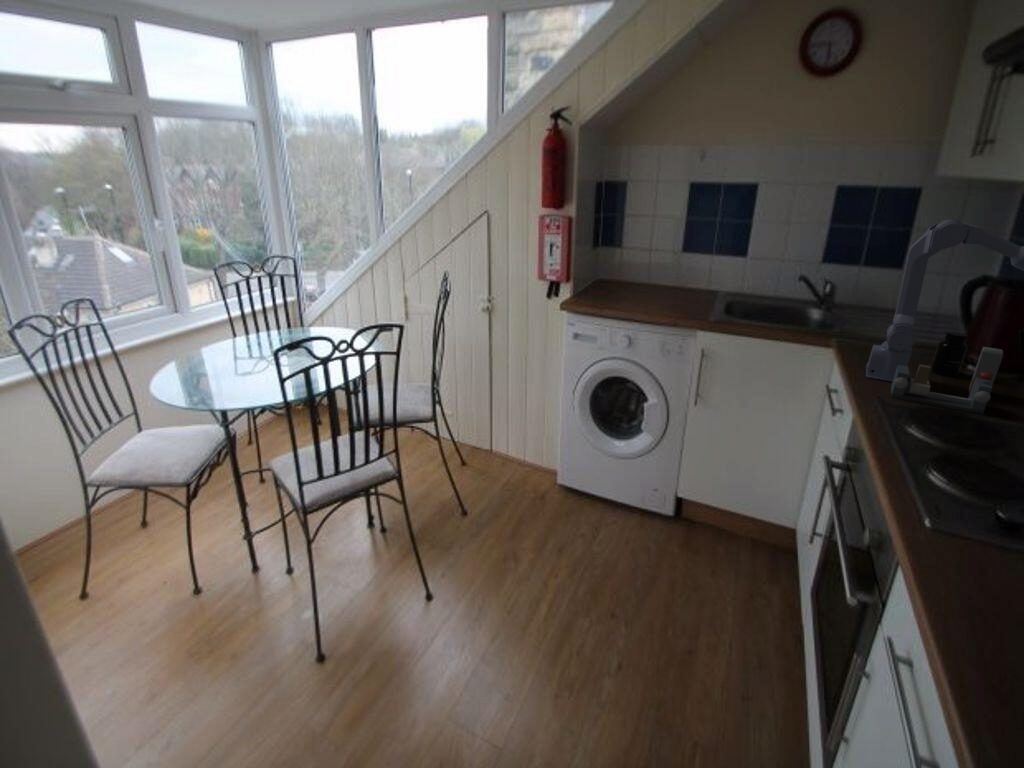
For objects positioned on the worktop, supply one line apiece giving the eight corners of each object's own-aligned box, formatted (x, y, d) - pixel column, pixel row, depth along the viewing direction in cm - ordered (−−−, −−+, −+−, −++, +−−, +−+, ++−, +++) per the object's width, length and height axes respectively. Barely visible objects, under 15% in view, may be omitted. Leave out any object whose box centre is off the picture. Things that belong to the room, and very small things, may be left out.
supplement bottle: (949, 378, 155) (962, 338, 151) (924, 370, 161) (936, 331, 157) (963, 375, 158) (977, 335, 153) (938, 367, 164) (951, 329, 159)
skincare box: (968, 387, 149) (982, 346, 144) (988, 391, 146) (1003, 349, 142) (967, 394, 144) (982, 351, 140) (988, 398, 142) (1004, 355, 137)
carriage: (908, 394, 141) (916, 367, 138) (907, 387, 145) (915, 362, 142) (926, 397, 139) (935, 370, 136) (925, 391, 143) (934, 364, 140)
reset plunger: (979, 378, 133) (981, 374, 132) (978, 375, 135) (980, 371, 134) (992, 380, 132) (994, 376, 131) (990, 377, 134) (992, 373, 133)
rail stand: (889, 396, 142) (896, 372, 139) (889, 387, 148) (896, 364, 146) (984, 414, 132) (994, 388, 130) (980, 403, 138) (989, 378, 136)
